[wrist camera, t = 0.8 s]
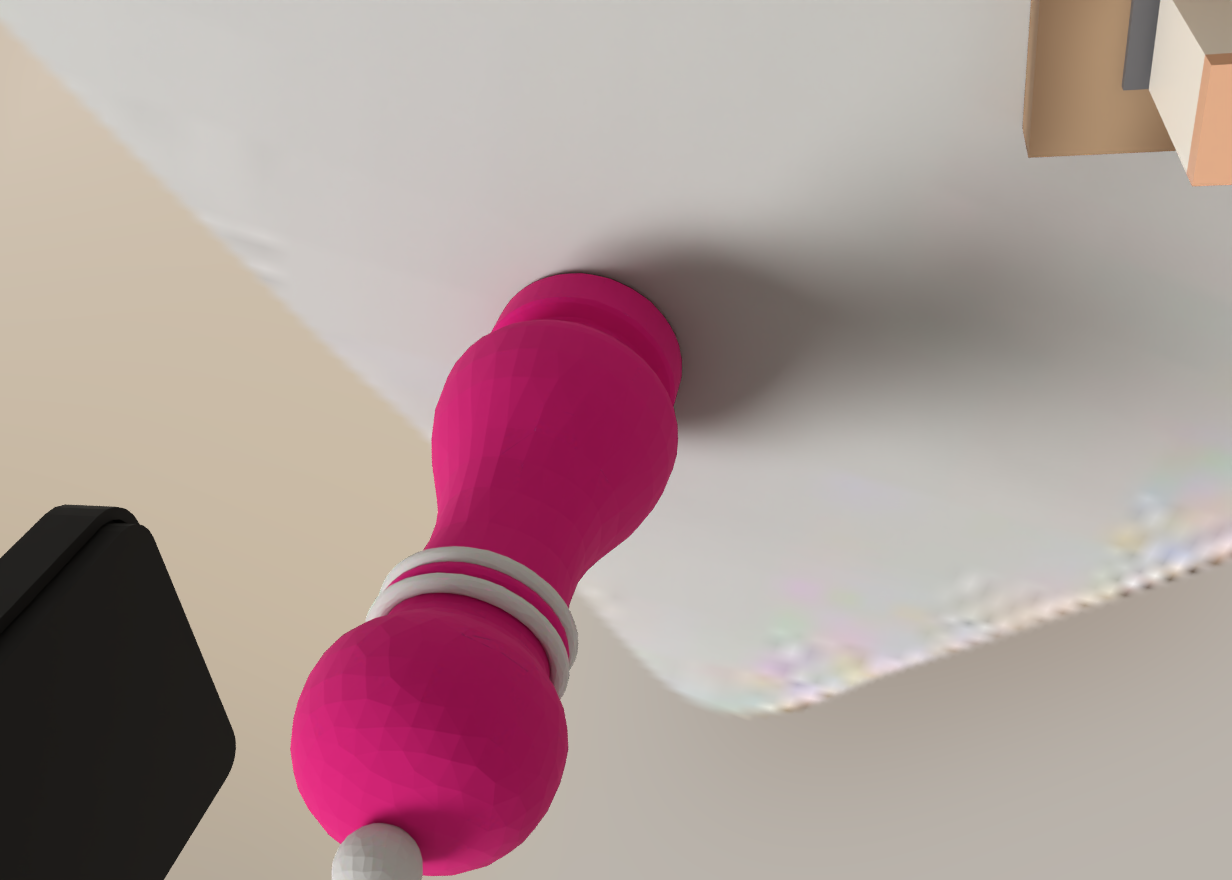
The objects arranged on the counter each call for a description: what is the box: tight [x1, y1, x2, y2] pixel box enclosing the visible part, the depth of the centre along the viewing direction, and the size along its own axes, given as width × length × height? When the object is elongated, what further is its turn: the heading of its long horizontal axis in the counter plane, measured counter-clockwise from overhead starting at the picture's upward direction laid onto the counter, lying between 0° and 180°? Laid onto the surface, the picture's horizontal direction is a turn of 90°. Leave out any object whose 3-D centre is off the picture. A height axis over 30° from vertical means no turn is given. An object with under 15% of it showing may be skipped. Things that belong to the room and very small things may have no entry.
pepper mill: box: [290, 273, 682, 880], centre depth 30 cm, size 7×7×20 cm
